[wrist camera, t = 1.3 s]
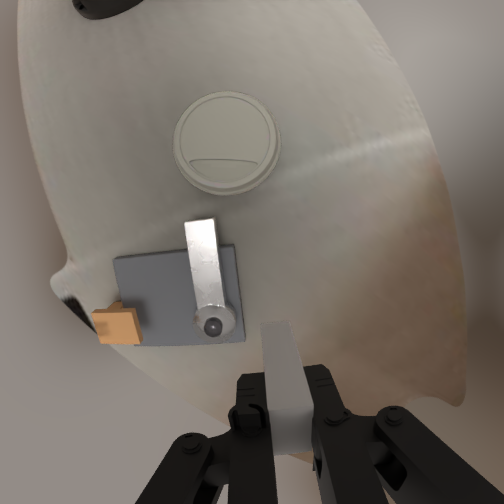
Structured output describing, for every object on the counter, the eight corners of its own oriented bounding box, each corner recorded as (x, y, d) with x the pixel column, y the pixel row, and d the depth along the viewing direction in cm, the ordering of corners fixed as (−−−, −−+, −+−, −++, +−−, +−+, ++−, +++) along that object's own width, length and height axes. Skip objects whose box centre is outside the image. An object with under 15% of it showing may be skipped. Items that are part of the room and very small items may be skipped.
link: (238, 332, 33) (237, 346, 30) (199, 334, 34) (195, 349, 30) (223, 216, 30) (220, 219, 27) (180, 221, 31) (172, 225, 27)
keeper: (112, 294, 34) (91, 313, 28) (149, 292, 34) (131, 312, 28) (120, 321, 35) (100, 343, 29) (155, 320, 35) (140, 344, 29)
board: (117, 256, 33) (112, 259, 32) (233, 244, 33) (233, 246, 31) (137, 340, 36) (134, 346, 34) (245, 335, 36) (245, 341, 34)
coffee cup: (181, 167, 31) (145, 156, 19) (224, 107, 30) (212, 66, 18) (242, 208, 32) (238, 219, 20) (285, 148, 31) (306, 125, 19)
